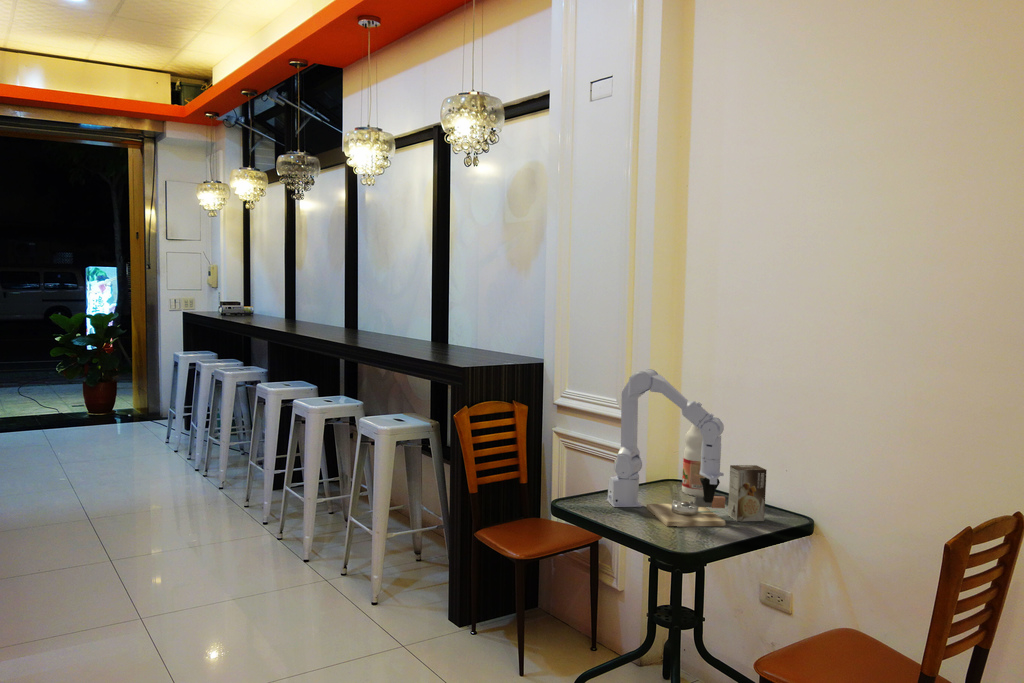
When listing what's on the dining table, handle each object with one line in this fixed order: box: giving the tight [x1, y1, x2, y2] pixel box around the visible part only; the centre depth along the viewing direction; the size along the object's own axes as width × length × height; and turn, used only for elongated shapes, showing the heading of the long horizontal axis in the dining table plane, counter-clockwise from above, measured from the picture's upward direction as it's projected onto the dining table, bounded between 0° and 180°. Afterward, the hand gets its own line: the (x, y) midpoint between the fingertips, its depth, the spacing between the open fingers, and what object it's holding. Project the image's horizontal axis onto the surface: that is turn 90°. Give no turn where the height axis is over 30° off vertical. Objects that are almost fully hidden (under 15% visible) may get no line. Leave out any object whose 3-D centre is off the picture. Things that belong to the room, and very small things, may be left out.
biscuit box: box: [727, 464, 767, 522], centre depth 222 cm, size 9×6×16 cm
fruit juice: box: [681, 423, 705, 497], centre depth 250 cm, size 9×9×28 cm
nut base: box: [646, 503, 726, 527], centre depth 222 cm, size 20×18×2 cm
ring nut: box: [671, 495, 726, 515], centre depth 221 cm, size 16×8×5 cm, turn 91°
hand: (708, 502), depth 220 cm, fingers closed, pressing on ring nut
